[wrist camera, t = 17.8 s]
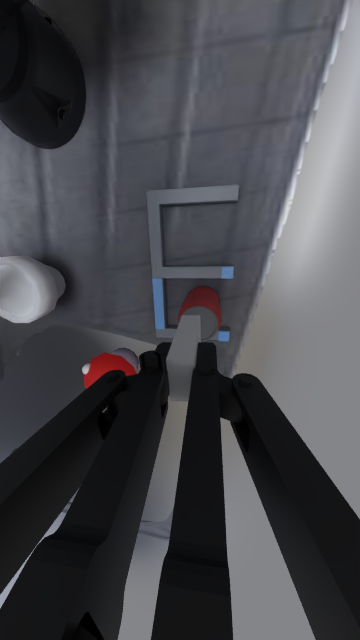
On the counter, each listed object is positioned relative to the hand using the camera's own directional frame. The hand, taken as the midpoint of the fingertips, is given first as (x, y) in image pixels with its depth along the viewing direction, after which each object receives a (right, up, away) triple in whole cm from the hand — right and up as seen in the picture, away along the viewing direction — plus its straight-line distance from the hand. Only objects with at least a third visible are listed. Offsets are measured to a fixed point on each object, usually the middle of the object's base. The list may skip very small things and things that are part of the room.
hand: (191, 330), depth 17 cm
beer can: (+3, +4, +23) cm, 24 cm away
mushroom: (-14, -8, +31) cm, 35 cm away
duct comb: (+1, +10, +21) cm, 24 cm away
